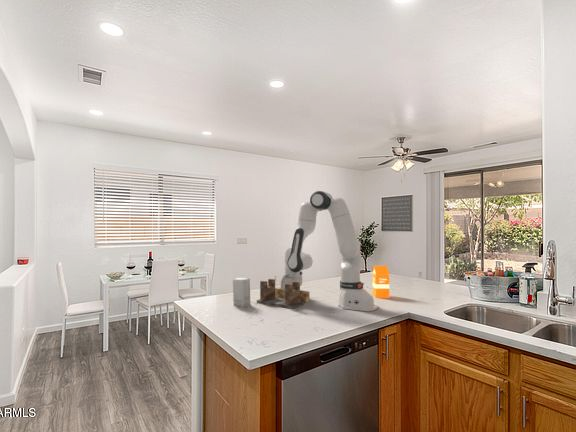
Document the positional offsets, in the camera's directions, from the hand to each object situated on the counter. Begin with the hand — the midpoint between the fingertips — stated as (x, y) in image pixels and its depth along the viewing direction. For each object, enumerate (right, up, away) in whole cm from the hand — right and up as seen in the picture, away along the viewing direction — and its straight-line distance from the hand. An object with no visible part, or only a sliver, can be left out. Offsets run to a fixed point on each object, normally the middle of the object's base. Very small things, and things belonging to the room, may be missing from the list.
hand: (291, 295), depth 200 cm
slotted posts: (-7, -2, -11) cm, 13 cm away
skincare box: (-30, -2, -14) cm, 33 cm away
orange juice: (+58, -3, +7) cm, 59 cm away
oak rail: (0, -2, 0) cm, 2 cm away
